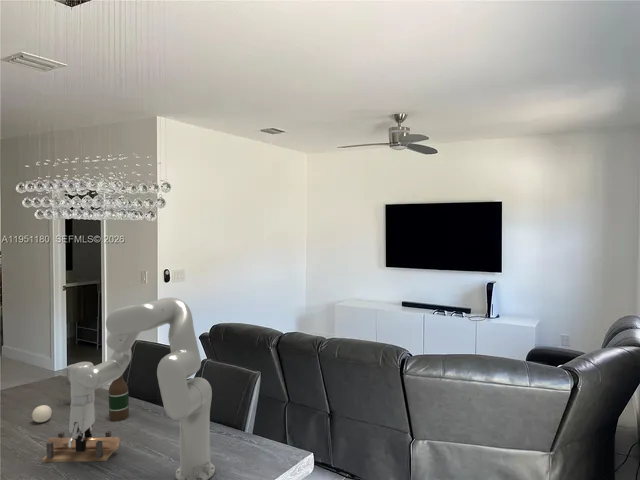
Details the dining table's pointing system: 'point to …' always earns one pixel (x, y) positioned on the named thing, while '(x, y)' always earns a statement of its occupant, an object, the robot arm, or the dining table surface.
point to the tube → (90, 443)
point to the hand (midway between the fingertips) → (83, 447)
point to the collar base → (77, 453)
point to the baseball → (41, 413)
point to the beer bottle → (118, 400)
